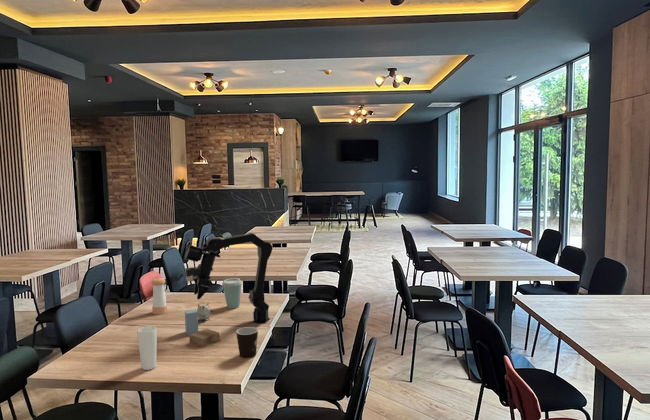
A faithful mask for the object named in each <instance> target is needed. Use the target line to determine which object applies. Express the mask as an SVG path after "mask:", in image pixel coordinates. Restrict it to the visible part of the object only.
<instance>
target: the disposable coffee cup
mask: <svg viewBox="0 0 650 420" xmlns="http://www.w3.org/2000/svg"><path fill="white" fill-rule="evenodd" d="M221 286H222V288H223V293H224V298H225V302H226V303H225V304H226V306H227V307H226V308H228V309H238V308H239V307H240V305H241V293H242V291H241V290H242V280H241V279H240V278H238V277H232V278H231V277H230V278H226V279H225V280H223V281H222V283H221Z"/></svg>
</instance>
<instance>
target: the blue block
mask: <svg viewBox="0 0 650 420" xmlns="http://www.w3.org/2000/svg"><path fill="white" fill-rule="evenodd" d="M184 325H185V333H186V335H187V336H189V335H190V334H192V333H195V332H198V331H199V318H198V312H197V308H195V309H186V310H184Z"/></svg>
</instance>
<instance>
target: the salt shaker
mask: <svg viewBox="0 0 650 420" xmlns="http://www.w3.org/2000/svg"><path fill="white" fill-rule="evenodd" d="M150 283H151V285H152V289H153V290H152V294H153V295H152V308H151V310H152V314H153V315H162V314H165V313H167V312H168V305H167V297H166V293H165V283H166V279H165V278H164V277H160V276H156V278H154V279H152V280H151V282H150Z"/></svg>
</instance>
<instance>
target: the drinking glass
mask: <svg viewBox="0 0 650 420" xmlns="http://www.w3.org/2000/svg"><path fill="white" fill-rule="evenodd" d="M137 345H138V350H139V351H138V352H139V358H140V366H141V367H140V368H141V369H142V370H143V371H149V370H150V369H151V370H153V369H155V368H157V354H158V353H157V349H158V329H157V327H156V326H154V325H147V326H146V325H145V326H143V327H139V328H138V329H137Z"/></svg>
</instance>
